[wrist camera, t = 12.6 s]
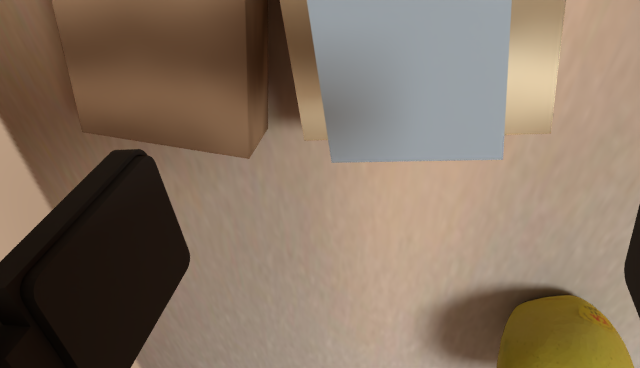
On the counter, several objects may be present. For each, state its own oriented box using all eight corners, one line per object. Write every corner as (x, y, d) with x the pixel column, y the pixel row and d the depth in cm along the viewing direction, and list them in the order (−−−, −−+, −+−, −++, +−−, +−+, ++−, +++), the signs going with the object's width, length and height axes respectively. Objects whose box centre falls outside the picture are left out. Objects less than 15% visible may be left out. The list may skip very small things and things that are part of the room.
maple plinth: (283, -129, 24) (257, -124, 20) (564, -174, 21) (586, -177, 18) (319, 108, 30) (304, 140, 27) (538, 98, 27) (550, 133, 24)
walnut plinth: (79, -113, 26) (26, -107, 23) (269, -96, 24) (242, -87, 21) (118, 103, 33) (82, 132, 29) (269, 125, 31) (249, 158, 28)
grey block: (344, -47, 21) (306, -5, 16) (494, -65, 20) (513, -26, 14) (358, 87, 25) (331, 162, 19) (489, 80, 23) (502, 159, 17)
